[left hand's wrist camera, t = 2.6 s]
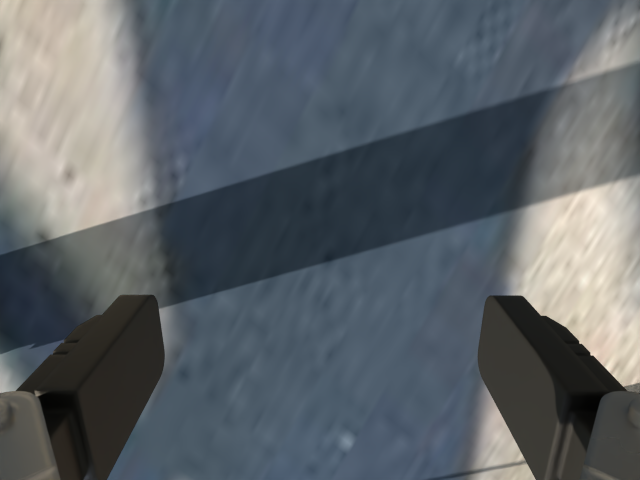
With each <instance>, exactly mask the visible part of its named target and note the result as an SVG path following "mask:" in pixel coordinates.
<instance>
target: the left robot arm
mask: <svg viewBox="0 0 640 480" xmlns="http://www.w3.org/2000/svg"><path fill="white" fill-rule="evenodd" d="M164 358H165V353H164V344H163V337H162V330H161V323H160V316H159V309H158V303H157V300H156V298H155V296H154V295H120V296H119V297H118V298H117V299H116V300H115V301H114V302H113V303H112V305H111V306H110V307H109V308H108V309H107V310H106V311H105V312H104V313H103V315H96V316H95V317H93V318H91V319H89V320H88V321H86V322H84V323H83V324H81V325H79V326H77V327H76V328H75V329H74V330H73V331H72V333H71V334H70V335H69V336H68V337H67V338H66V339H65V340H64V343H61V344H60V345H59V346H58V347H57V348H56V349H55V350H54V351H53V355H50V356H49V357H48V358H47V359H46V360H45V361H44V362H43V363H42V364H41V365H40V366H39V367H38V368H37V369H36V370H35V371H34V372H33V373H32V374H31V375H30V376H29V378H28V379H27V380H26V381H25V382H24V383H23V384H22V385H21V386H20V387H19V388H18V389H17V390H16V391H11V392H4V393H0V480H107V478H108V476H109V474H110V472H111V470H112V469H113V467H114V465H115V463H116V461H117V459H118V457H119V455H120V453H121V451H122V449H123V448H124V446H125V444H126V442H127V440H128V438H129V436H130V434H131V432H132V430H133V428H134V427H135V425H136V423H137V421H138V419H139V417H140V415H141V413H142V411H143V409H144V407H145V406H146V404H147V402H148V400H149V398H150V396H151V394H152V392H153V390H154V388H155V387H156V385H157V383H158V381H159V379H160V377H161V374H162V371H163V367H164ZM478 365H479V371H480V374H481V377H482V379H483V381H484V383H485V385H486V386H487V388H488V390H489V392H490V394H491V396H492V398H493V400H494V402H495V403H496V405H497V407H498V409H499V411H500V413H501V415H502V417H503V419H504V420H505V422H506V424H507V426H508V428H509V430H510V432H511V434H512V435H513V437H514V439H515V441H516V443H517V445H518V447H519V449H520V451H521V452H522V454H523V456H524V458H525V460H526V462H527V464H528V466H529V468H530V469H531V471H532V473H533V475H534V477H535V479H536V480H640V393H636V392H629V391H627V390H626V389H625V388H624V387H623V386H622V385H621V384H620V383H619V382H618V381H617V380H616V379H615V378H614V377H613V376H612V375H611V374H610V373H609V372H608V371H607V370H606V369H605V368H604V366H603V365H602V364H601V363H600V362H599V361H598V360H597V359H596V358H595V357H594V356H591V355H590V352H589V351H588V350H587V349H586V348H585V347H584V346H583V345H582V344H579V341H578V340H577V338H576V337H575V336H574V335H573V334H572V333H571V332H570V331H569V330H568V329H567V328H566V327H564V326H562V325H561V324H559V323H557V322H556V321H554V320H552V319H550V318H549V317H547V316H541V315H540V314H539V313H538V312H537V311H536V310H535V309H534V308H533V307H532V305H531V304H530V303H529V302H528V301H527V300H526V299H525V298H524V297H523V296H489V297H488V298H487V299H486V302H485V306H484V313H483V320H482V327H481V334H480V341H479V348H478Z"/></svg>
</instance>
